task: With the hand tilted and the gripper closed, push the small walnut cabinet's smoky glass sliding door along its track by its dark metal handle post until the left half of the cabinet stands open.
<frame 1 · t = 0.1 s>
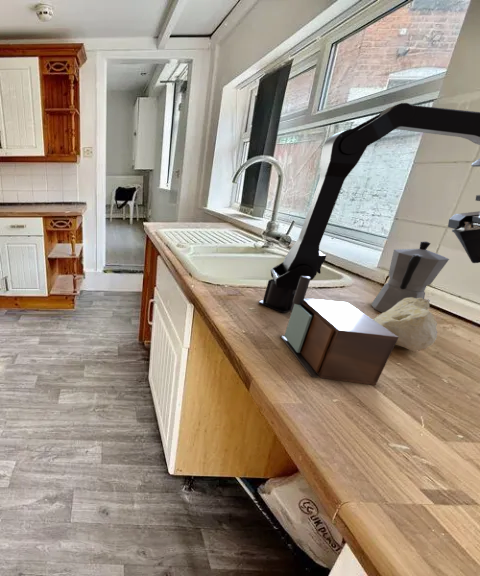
coffeepot: (392, 313, 77), on the countertop
glass door: (301, 313, 57), point 7 cm above the countertop, slide at 0.0 cm
cabinet: (325, 358, 56), on the countertop
beige rock: (388, 338, 64), on the countertop
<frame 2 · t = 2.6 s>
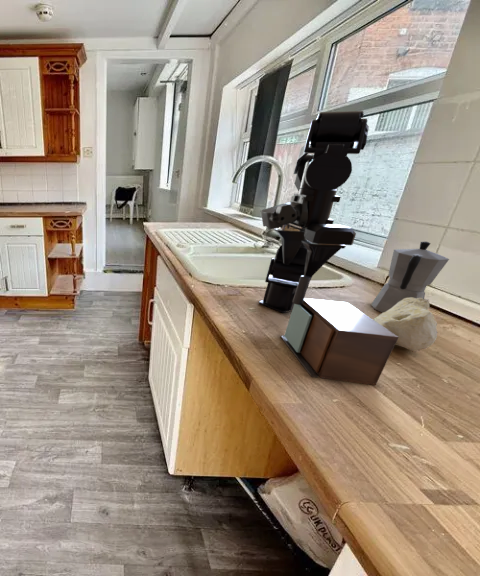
hand: (296, 270, 62), 13 cm above the countertop, tool pointing down, fingers open, 9 cm apart
nothing on the countertop moved.
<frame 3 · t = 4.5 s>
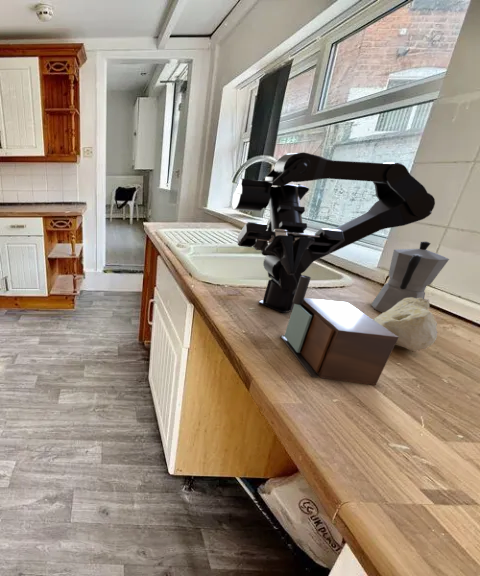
hand: (291, 274, 61), 13 cm above the countertop, tool tilted 45°, fingers closed
nothing on the countertop moved.
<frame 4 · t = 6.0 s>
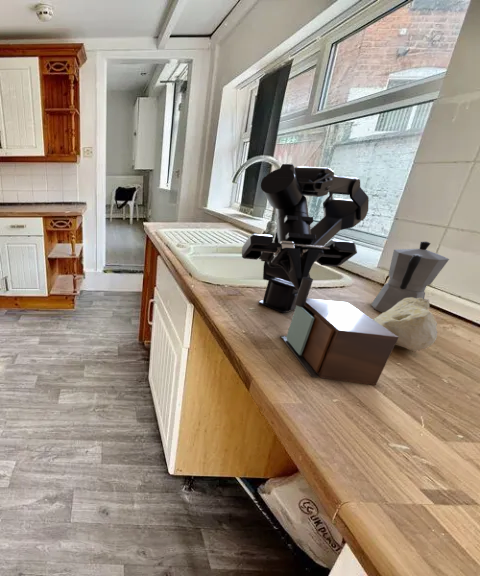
hand: (299, 288, 58), 11 cm above the countertop, tool tilted 45°, fingers closed
glass door: (303, 315, 56), point 7 cm above the countertop, slide at 0.9 cm, touching gripper
everything else where it was.
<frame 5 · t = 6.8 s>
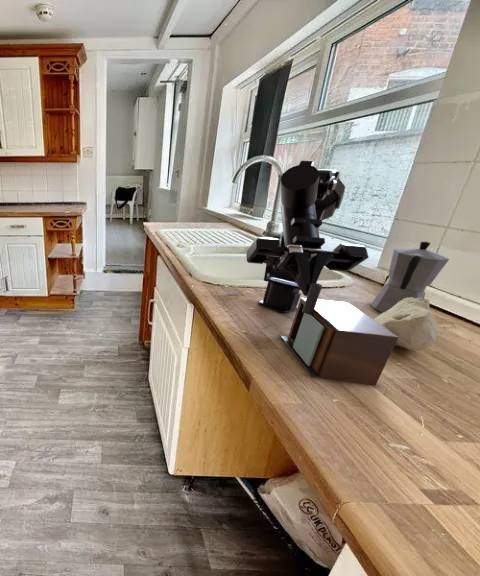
hand: (308, 295, 55), 11 cm above the countertop, tool tilted 45°, fingers closed, pressing on glass door
glass door: (311, 324, 53), point 7 cm above the countertop, slide at 4.1 cm, touching gripper
everything else where it was.
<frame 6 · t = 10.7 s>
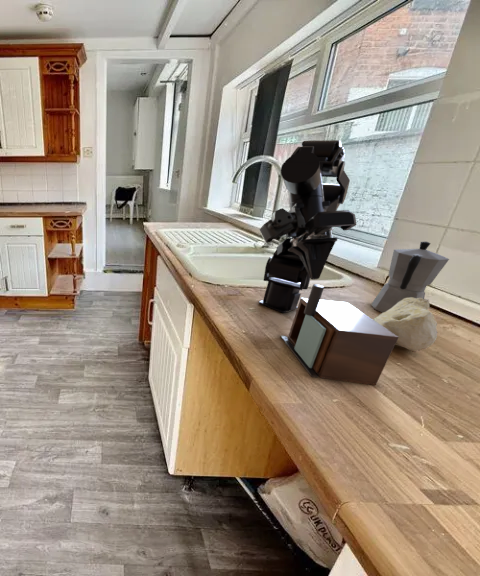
hand: (315, 279, 58), 13 cm above the countertop, tool tilted 30°, fingers closed
glass door: (313, 325, 52), point 7 cm above the countertop, slide at 4.7 cm, touching cabinet
everything else where it was.
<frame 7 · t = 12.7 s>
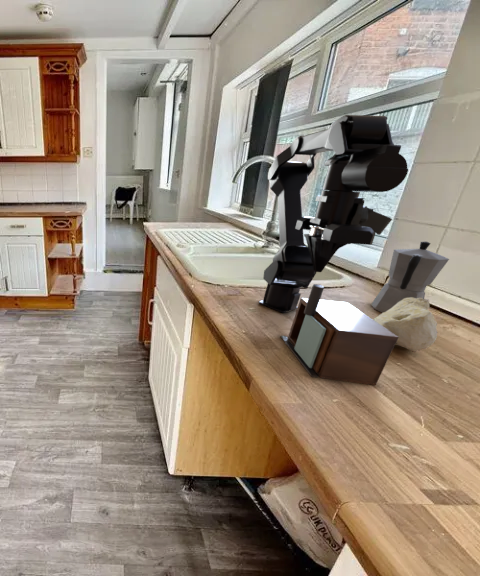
hand: (317, 271, 62), 13 cm above the countertop, tool pointing down, fingers closed
nothing on the countertop moved.
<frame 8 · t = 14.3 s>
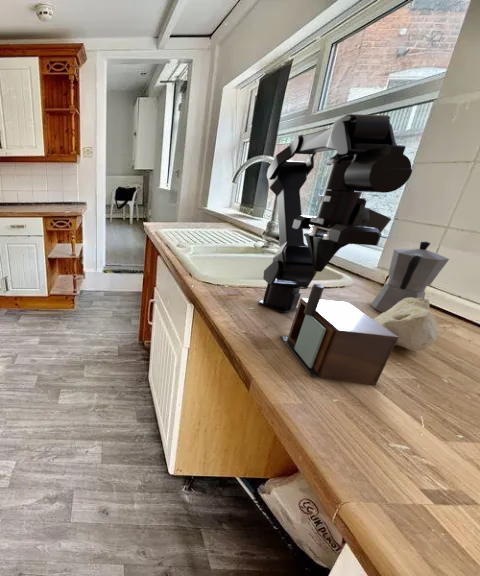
hand: (317, 271, 62), 13 cm above the countertop, tool pointing down, fingers closed
nothing on the countertop moved.
at the end: glass door slide at 4.7 cm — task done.
